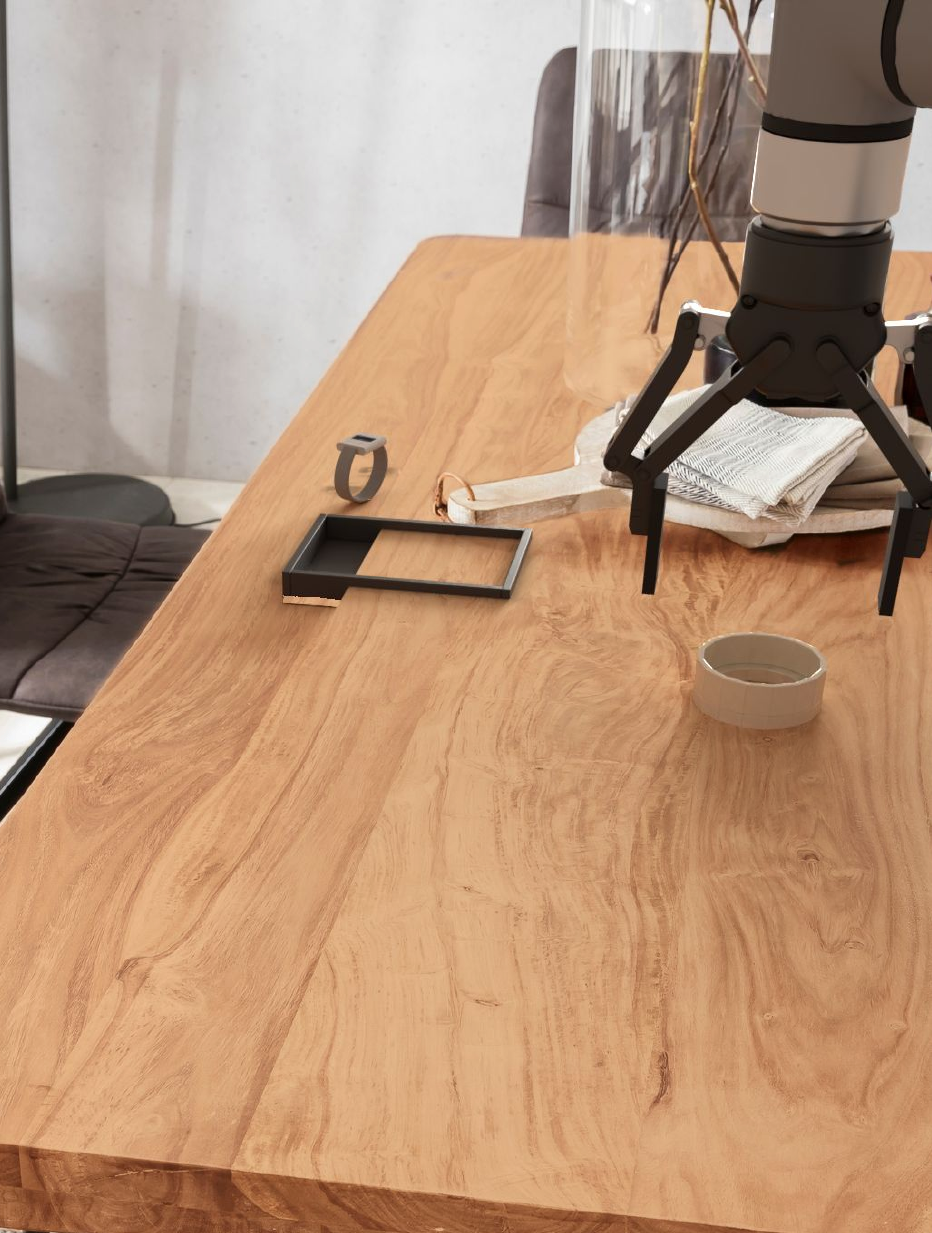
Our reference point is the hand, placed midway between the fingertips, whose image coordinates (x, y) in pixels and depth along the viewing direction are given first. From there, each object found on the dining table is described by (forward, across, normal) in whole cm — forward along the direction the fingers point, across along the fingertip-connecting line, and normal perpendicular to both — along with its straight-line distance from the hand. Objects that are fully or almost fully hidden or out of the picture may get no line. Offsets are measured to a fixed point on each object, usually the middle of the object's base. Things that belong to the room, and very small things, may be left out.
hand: (765, 596), depth 102 cm
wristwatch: (+9, +32, -33) cm, 47 cm away
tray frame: (+9, +25, -18) cm, 32 cm away
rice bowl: (+8, 0, 0) cm, 8 cm away
